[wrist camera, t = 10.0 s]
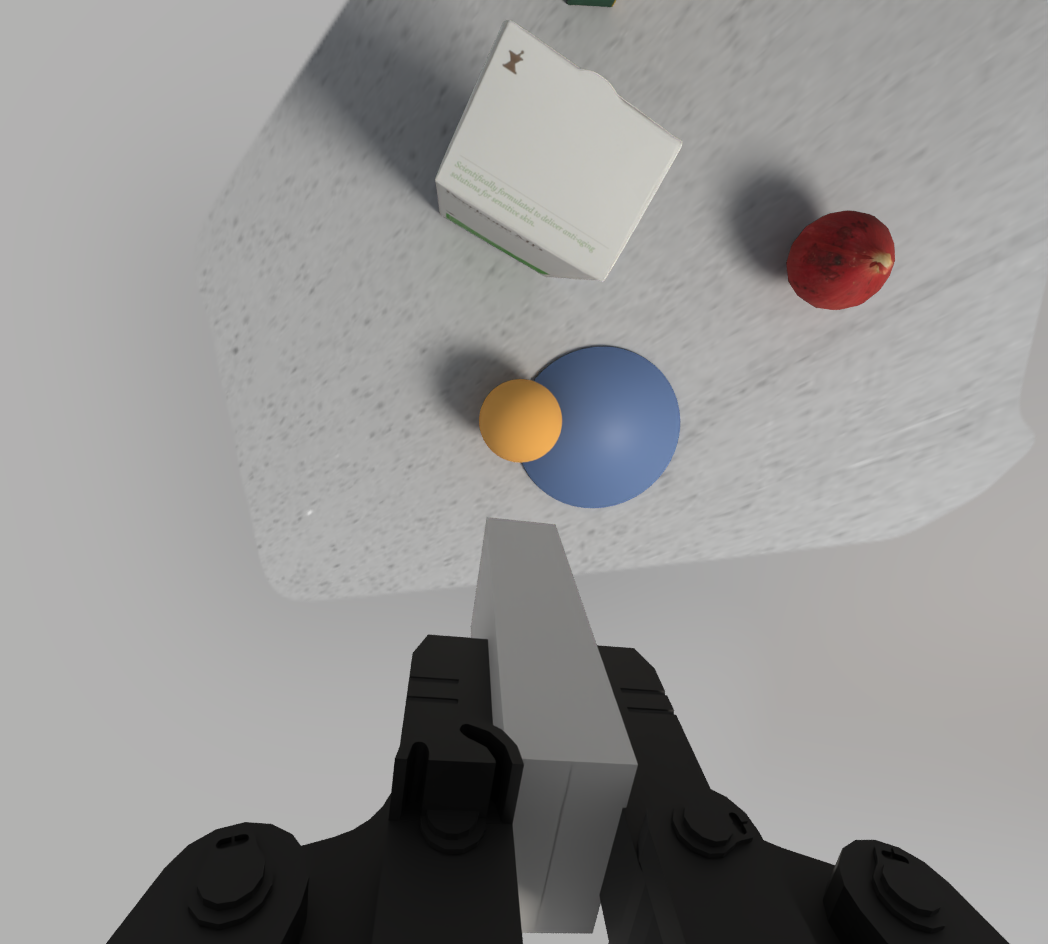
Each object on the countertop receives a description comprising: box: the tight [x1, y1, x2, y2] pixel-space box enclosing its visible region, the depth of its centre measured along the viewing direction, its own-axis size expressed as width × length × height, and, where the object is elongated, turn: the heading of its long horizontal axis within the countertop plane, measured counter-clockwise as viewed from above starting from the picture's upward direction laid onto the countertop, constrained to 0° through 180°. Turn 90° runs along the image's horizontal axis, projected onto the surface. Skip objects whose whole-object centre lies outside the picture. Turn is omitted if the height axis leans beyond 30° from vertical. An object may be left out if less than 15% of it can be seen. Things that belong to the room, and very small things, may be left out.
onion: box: [786, 211, 895, 310], centre depth 37 cm, size 6×6×8 cm
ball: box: [479, 379, 562, 462], centre depth 39 cm, size 6×6×6 cm
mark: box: [522, 346, 680, 508], centre depth 43 cm, size 12×12×1 cm
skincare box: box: [435, 20, 682, 282], centre depth 30 cm, size 8×7×16 cm
